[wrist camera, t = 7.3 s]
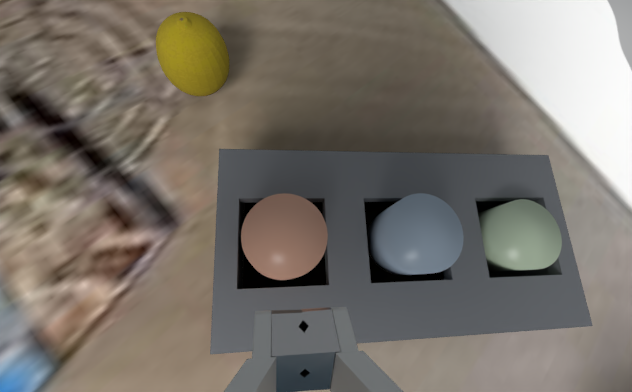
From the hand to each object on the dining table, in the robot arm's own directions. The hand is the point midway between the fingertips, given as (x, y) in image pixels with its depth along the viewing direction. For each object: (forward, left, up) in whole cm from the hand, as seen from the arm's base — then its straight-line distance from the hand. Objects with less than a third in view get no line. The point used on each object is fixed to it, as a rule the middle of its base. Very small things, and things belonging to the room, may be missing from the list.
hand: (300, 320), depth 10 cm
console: (+8, +4, -16) cm, 18 cm away
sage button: (+16, +4, -11) cm, 20 cm away
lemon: (-7, +20, -16) cm, 27 cm away
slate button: (+8, +4, -10) cm, 13 cm away
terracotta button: (0, +4, -10) cm, 10 cm away
